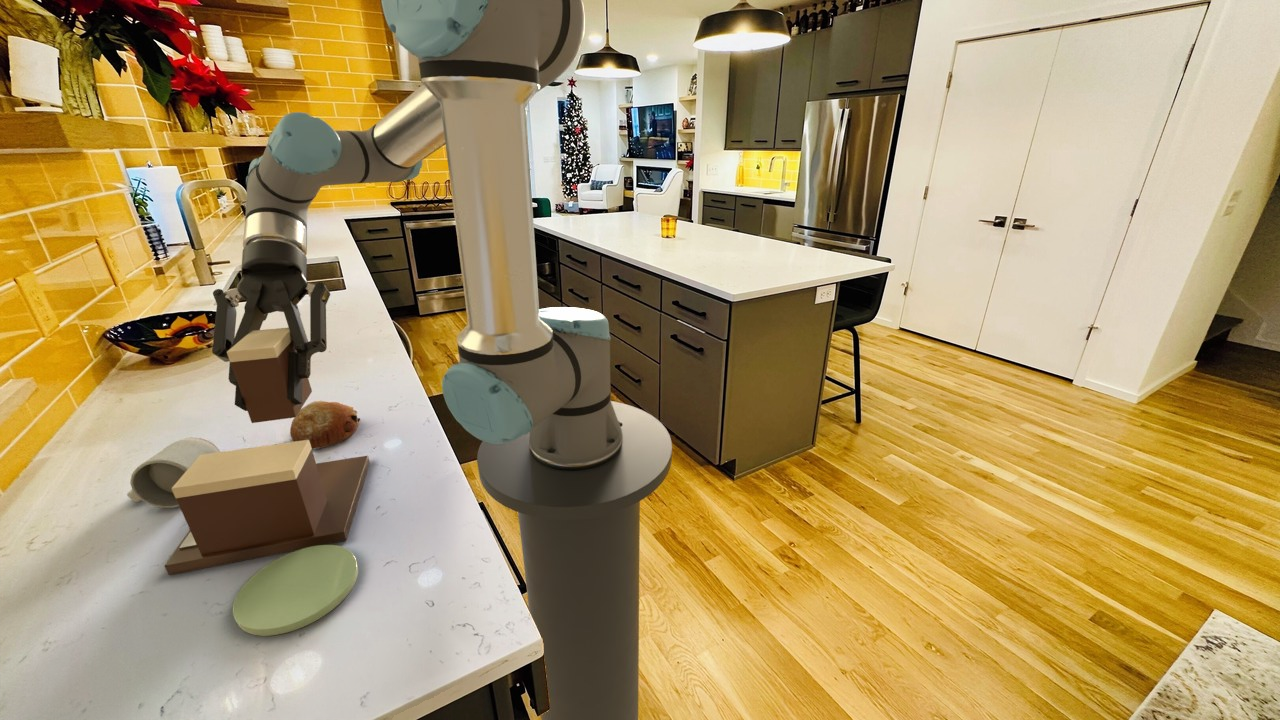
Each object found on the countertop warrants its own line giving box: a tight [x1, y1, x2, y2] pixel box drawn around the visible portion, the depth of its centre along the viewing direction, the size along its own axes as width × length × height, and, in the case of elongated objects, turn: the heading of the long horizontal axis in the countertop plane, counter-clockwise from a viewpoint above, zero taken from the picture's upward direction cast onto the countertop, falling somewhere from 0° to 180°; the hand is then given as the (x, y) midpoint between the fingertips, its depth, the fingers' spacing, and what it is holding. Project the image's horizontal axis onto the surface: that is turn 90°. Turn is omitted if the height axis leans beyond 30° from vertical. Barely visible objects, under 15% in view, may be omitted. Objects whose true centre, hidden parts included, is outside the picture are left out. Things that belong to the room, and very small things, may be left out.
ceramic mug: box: [126, 437, 221, 509], centre depth 72 cm, size 11×8×8 cm
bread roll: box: [289, 400, 361, 449], centre depth 88 cm, size 10×10×8 cm
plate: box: [232, 544, 359, 637], centre depth 57 cm, size 12×12×1 cm
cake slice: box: [227, 327, 313, 424], centre depth 67 cm, size 5×8×10 cm, turn 18°
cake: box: [171, 440, 327, 556], centre depth 63 cm, size 12×7×10 cm, turn 108°
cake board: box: [164, 455, 371, 576], centre depth 70 cm, size 19×18×2 cm
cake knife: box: [179, 532, 197, 549], centre depth 68 cm, size 14×2×1 cm, turn 18°
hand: (269, 403), depth 64 cm, fingers closed on cake slice, 5 cm apart
